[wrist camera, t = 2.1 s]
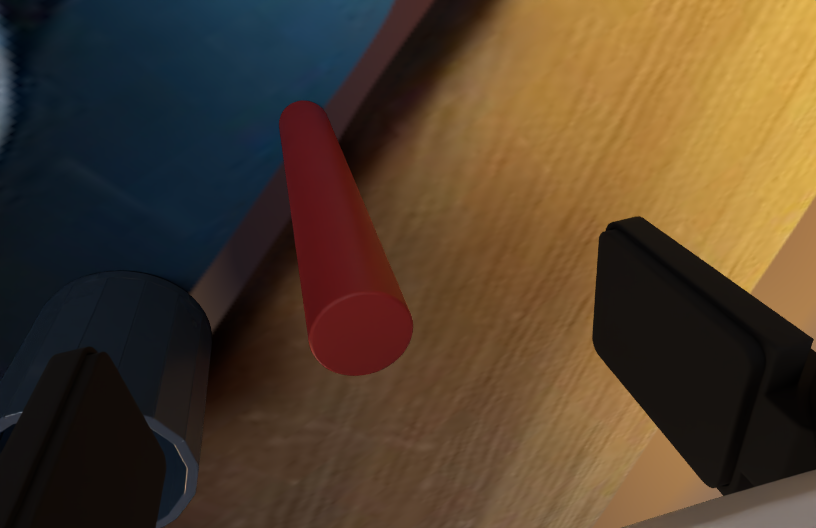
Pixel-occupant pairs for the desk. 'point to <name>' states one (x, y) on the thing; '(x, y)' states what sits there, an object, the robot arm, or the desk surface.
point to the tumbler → (129, 362)
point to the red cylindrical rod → (339, 253)
